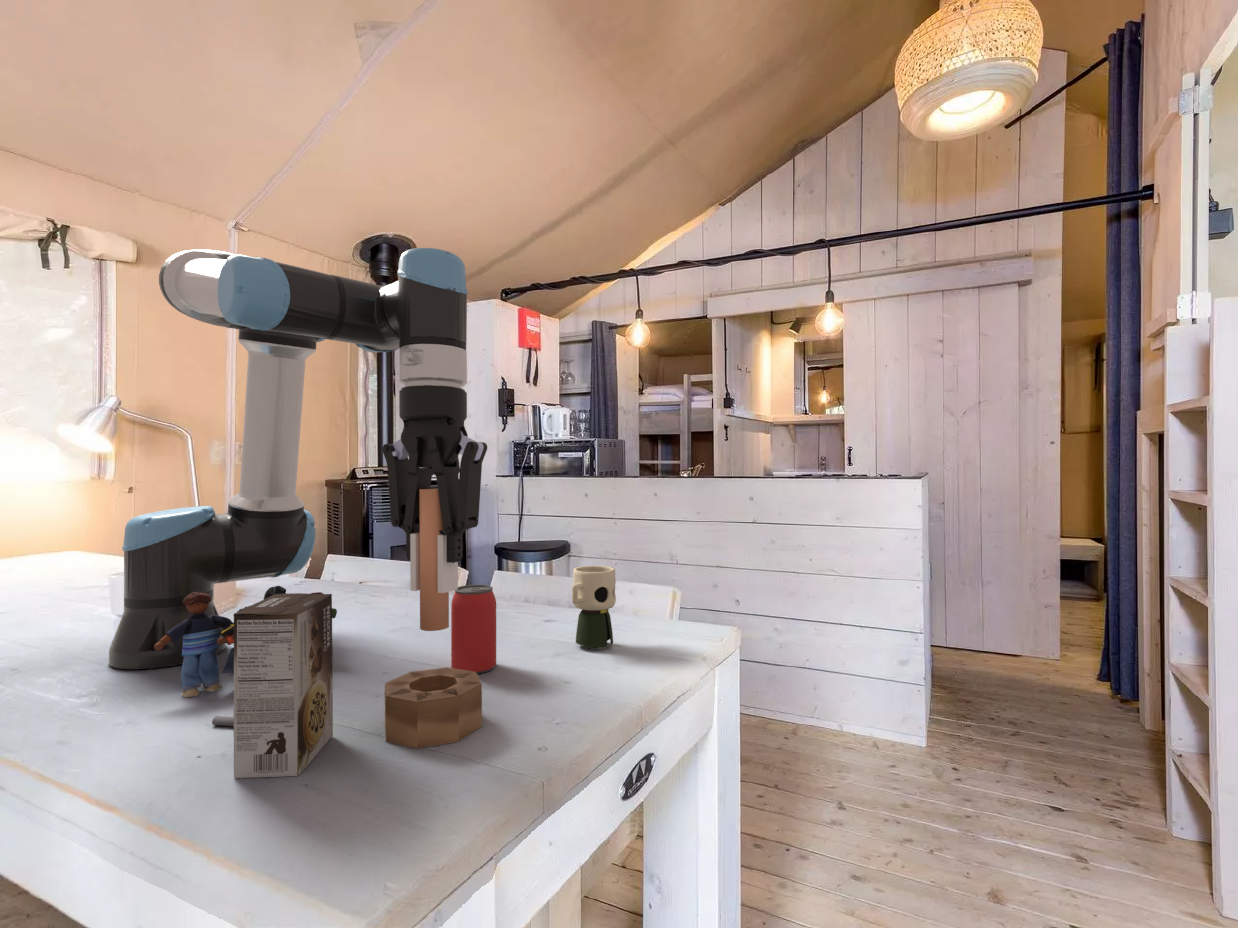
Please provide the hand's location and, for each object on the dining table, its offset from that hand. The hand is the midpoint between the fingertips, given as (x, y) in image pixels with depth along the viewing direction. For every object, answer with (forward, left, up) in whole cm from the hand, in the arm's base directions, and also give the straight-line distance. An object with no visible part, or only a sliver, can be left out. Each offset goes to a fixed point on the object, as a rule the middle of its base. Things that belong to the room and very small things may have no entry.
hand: (434, 589), depth 71 cm
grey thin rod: (-19, -8, -16) cm, 26 cm away
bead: (0, 0, -16) cm, 16 cm away
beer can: (-8, +19, -16) cm, 26 cm away
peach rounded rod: (0, 0, -4) cm, 4 cm away
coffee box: (-9, -12, -16) cm, 22 cm away
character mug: (+4, +36, -16) cm, 40 cm away
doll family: (-35, +4, -16) cm, 39 cm away
